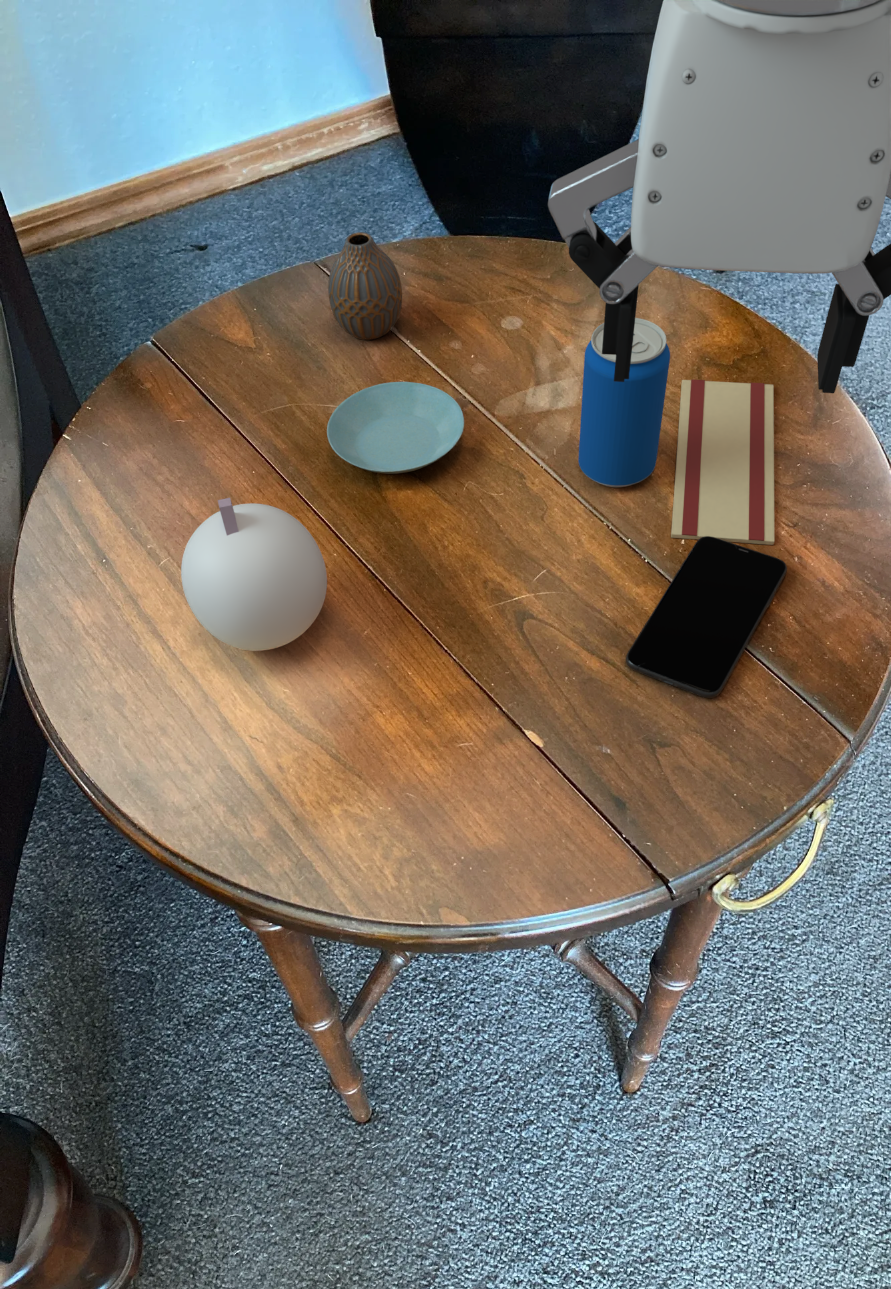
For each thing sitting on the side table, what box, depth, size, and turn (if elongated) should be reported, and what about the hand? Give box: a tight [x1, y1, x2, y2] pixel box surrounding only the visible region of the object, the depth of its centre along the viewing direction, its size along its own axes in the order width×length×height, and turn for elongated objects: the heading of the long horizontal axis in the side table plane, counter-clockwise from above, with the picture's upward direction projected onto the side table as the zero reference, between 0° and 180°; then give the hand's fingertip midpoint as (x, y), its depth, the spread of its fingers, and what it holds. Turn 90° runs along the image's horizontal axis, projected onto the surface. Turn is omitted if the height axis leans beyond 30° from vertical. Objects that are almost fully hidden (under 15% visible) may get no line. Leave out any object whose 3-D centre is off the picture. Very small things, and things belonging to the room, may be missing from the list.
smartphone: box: [625, 536, 788, 699], centre depth 81 cm, size 7×1×15 cm
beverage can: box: [578, 317, 671, 488], centre depth 86 cm, size 6×6×12 cm
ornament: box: [180, 497, 328, 652], centre depth 78 cm, size 10×10×12 cm
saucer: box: [326, 381, 465, 475], centre depth 93 cm, size 12×12×2 cm
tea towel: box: [670, 379, 775, 546], centre depth 91 cm, size 8×20×1 cm, turn 171°
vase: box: [327, 231, 403, 341], centre depth 100 cm, size 7×7×9 cm
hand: (722, 370), depth 52 cm, fingers open, 9 cm apart
